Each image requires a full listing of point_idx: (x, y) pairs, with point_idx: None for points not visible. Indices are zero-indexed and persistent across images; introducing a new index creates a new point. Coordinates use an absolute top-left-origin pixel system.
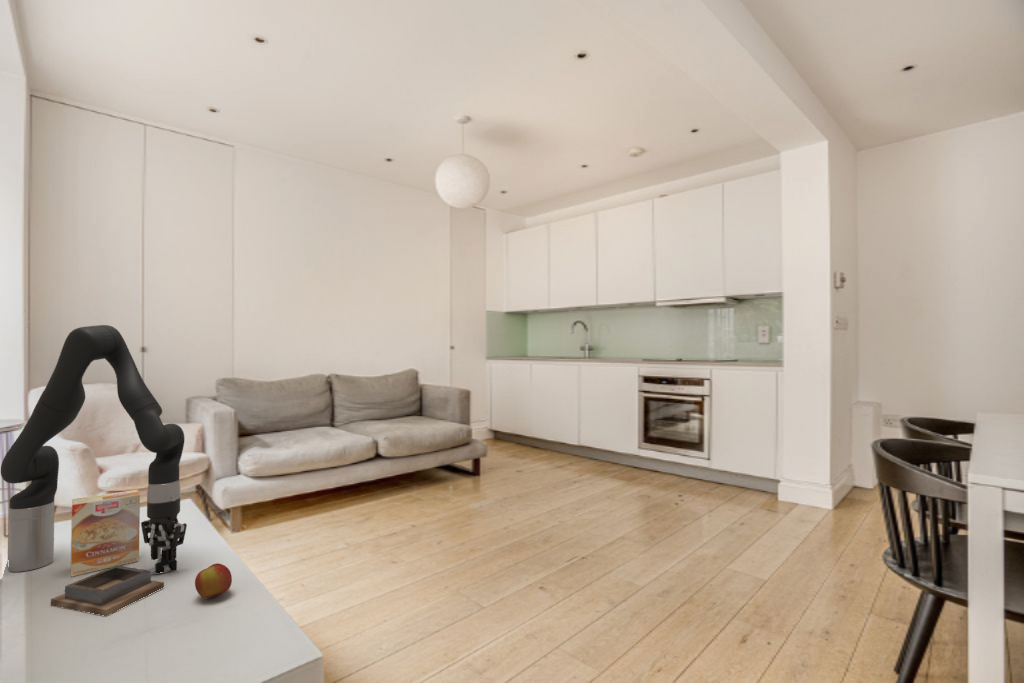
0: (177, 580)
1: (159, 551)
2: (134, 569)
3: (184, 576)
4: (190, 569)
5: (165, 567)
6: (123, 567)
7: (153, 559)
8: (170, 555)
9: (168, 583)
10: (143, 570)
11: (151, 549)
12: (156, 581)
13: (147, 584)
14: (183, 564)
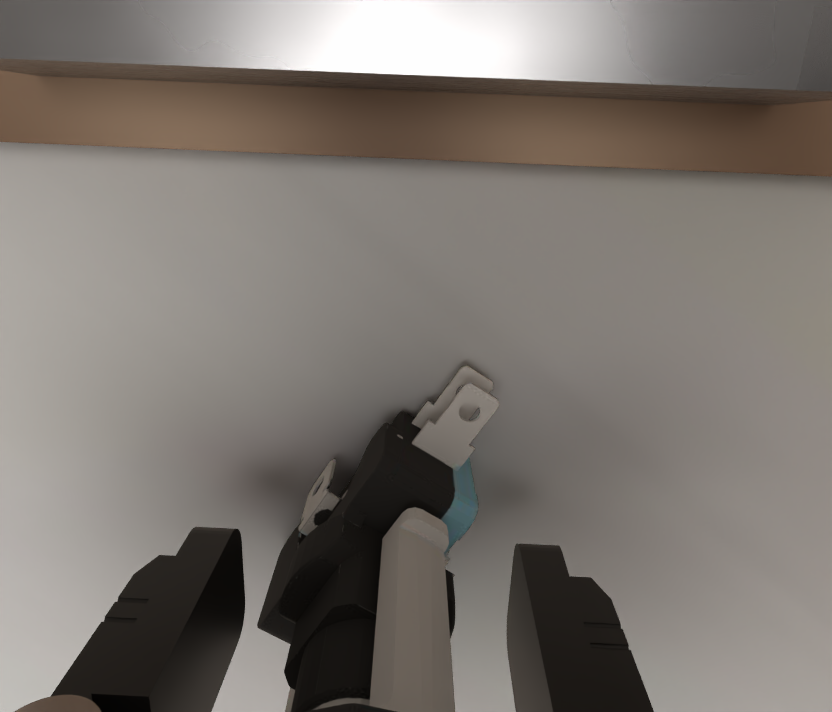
0: (13, 353)
1: (385, 653)
2: (299, 16)
3: (45, 450)
4: None
5: (318, 499)
6: (644, 39)
7: (519, 547)
8: (139, 612)
9: (31, 264)
10: (57, 25)
11: (589, 671)
12: (3, 132)
13: None
14: None
